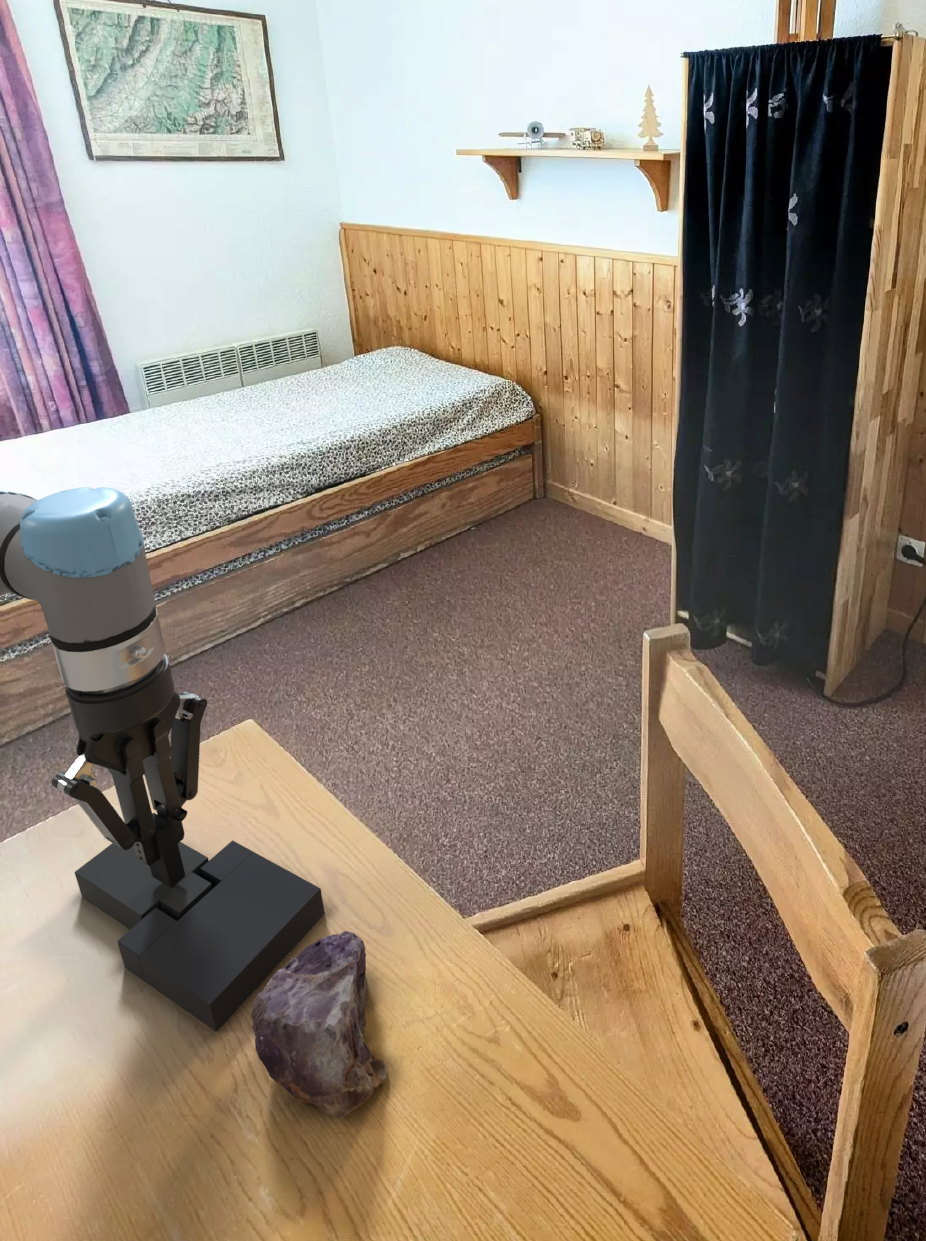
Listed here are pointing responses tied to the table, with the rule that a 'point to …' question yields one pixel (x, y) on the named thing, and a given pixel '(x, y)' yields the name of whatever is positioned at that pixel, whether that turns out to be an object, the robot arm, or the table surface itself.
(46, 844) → the table surface
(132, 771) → the robot arm
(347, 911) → the table surface
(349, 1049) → the rock
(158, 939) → the dock pad
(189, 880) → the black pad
